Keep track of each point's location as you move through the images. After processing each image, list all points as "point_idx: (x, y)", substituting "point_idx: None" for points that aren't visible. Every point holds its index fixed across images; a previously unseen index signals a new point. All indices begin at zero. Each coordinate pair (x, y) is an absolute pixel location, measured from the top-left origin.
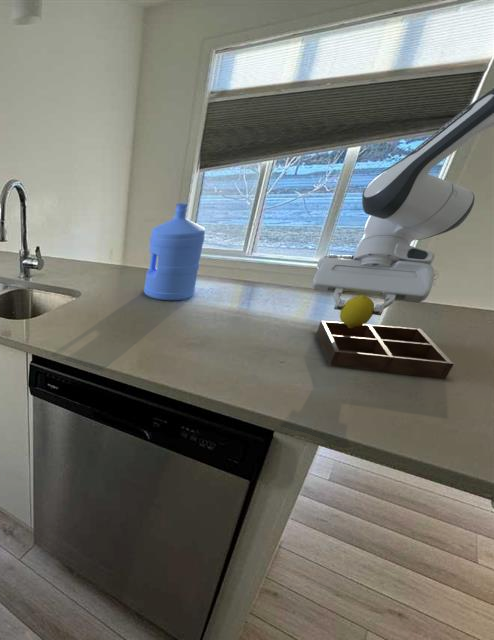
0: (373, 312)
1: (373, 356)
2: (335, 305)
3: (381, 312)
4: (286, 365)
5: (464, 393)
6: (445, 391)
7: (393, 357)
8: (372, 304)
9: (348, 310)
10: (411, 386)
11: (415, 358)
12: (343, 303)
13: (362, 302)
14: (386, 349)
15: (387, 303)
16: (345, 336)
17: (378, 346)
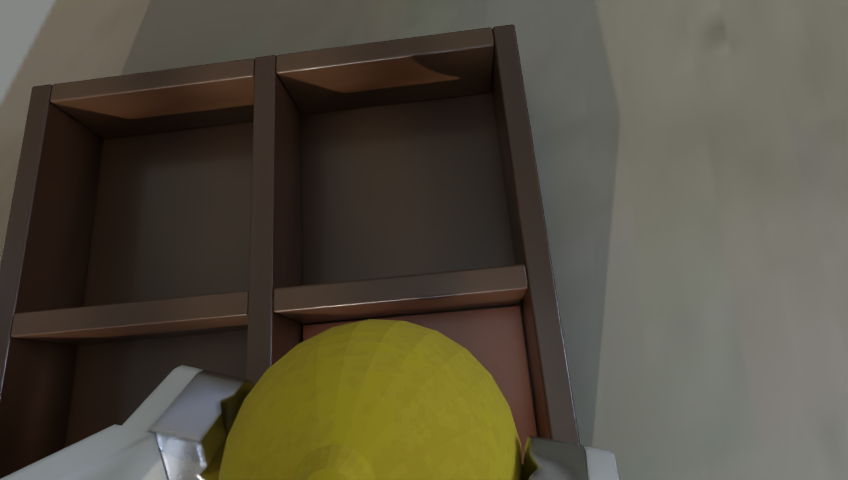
0: (251, 388)
1: (341, 49)
2: (610, 451)
3: (189, 369)
4: (689, 7)
5: (87, 38)
6: (140, 28)
7: (258, 57)
8: (244, 408)
9: (473, 357)
10: (236, 20)
11: (166, 82)
12: (536, 474)
13: (354, 361)
14: (262, 151)
15: (83, 443)
16: (447, 281)
17: (281, 238)
